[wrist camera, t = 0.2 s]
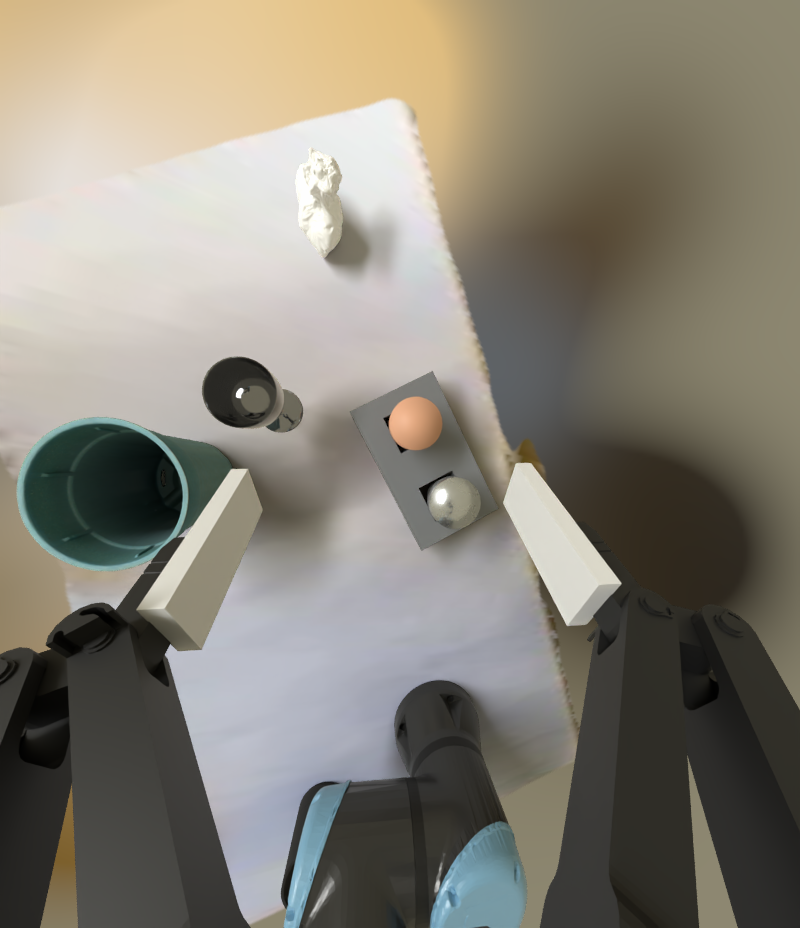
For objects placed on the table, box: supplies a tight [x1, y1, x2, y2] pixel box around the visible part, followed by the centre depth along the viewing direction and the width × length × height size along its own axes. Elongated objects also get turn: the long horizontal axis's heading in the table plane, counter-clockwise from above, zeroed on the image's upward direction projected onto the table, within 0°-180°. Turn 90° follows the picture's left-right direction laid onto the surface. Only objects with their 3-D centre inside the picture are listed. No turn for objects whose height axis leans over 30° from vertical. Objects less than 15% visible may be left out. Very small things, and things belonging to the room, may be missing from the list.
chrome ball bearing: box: [427, 476, 481, 529], centre depth 42 cm, size 7×7×7 cm
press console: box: [350, 371, 498, 551], centre depth 47 cm, size 24×14×6 cm, turn 27°
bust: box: [295, 148, 343, 258], centre depth 42 cm, size 12×8×11 cm
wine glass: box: [202, 357, 303, 432], centre depth 39 cm, size 8×8×15 cm
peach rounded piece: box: [389, 397, 442, 450], centre depth 41 cm, size 7×7×7 cm
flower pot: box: [17, 417, 233, 571], centre depth 38 cm, size 16×16×16 cm
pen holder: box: [281, 782, 336, 909], centre depth 46 cm, size 9×9×10 cm
